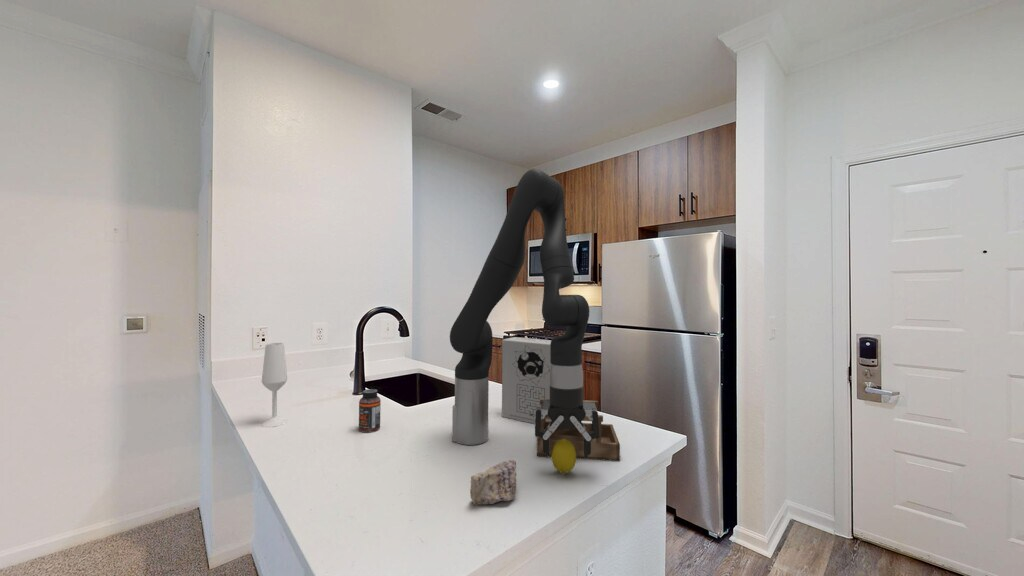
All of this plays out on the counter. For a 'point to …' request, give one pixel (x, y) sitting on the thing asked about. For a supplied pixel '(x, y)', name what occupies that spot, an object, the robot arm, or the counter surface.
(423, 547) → the counter surface
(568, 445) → the lemon
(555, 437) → the stand
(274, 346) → the champagne flute
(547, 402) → the trapdoor
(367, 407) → the supplement bottle
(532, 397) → the cereal box
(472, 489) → the mineral specimen
